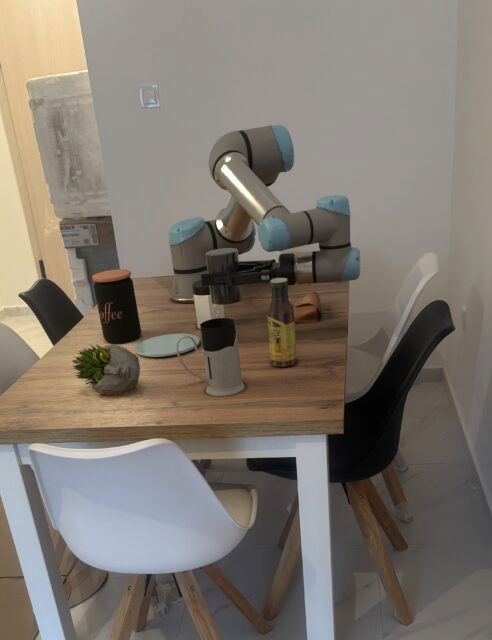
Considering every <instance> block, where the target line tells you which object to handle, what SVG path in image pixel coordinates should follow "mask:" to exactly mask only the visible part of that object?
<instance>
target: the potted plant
mask: <svg viewBox="0 0 492 640" xmlns="http://www.w3.org/2000/svg"><path fill="white" fill-rule="evenodd" d="M89 346H90V347H91V348H90V347H86V348H85V347H82V349H80V350H78V352H77V353H76V354H78V355H80V356H74V359H73V360H71V362H72V363H73V364H72V367H73V368H72V369H73V370H75V371H77V372H74V373H73V374H75V375H74V377H76V379H81V380H85V381H84V385H89V386H91V389H92V390H93V391H94V392H96V393H97V394H98V395H100V396H102V397H103V396H112V395H117V394H122V393H124V392H127V391H130V390H133V389H135V388H136V386H137V385H138V382H139V380H140V374H141V367H140V366H141V365H140V359H139V357H138V356H137V355H136V354H135V353H134V352H132V351H130V350H129V349H127V348H126V347H124V346H120V345H118V344H108V345H105V346H101V345H98V344H97V343H95V346H93V345H92V344H89Z"/></svg>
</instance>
